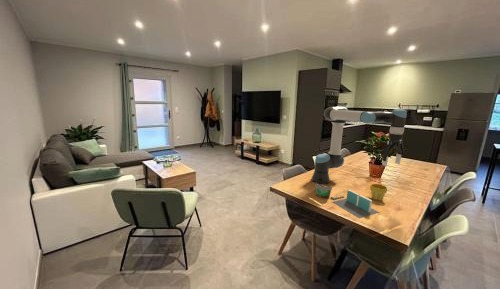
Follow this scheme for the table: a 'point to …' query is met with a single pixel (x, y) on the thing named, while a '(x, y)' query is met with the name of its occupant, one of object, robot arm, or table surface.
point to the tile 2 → (364, 203)
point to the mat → (354, 208)
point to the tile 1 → (352, 197)
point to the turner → (337, 197)
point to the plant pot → (378, 191)
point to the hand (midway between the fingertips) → (390, 164)
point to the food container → (322, 191)
